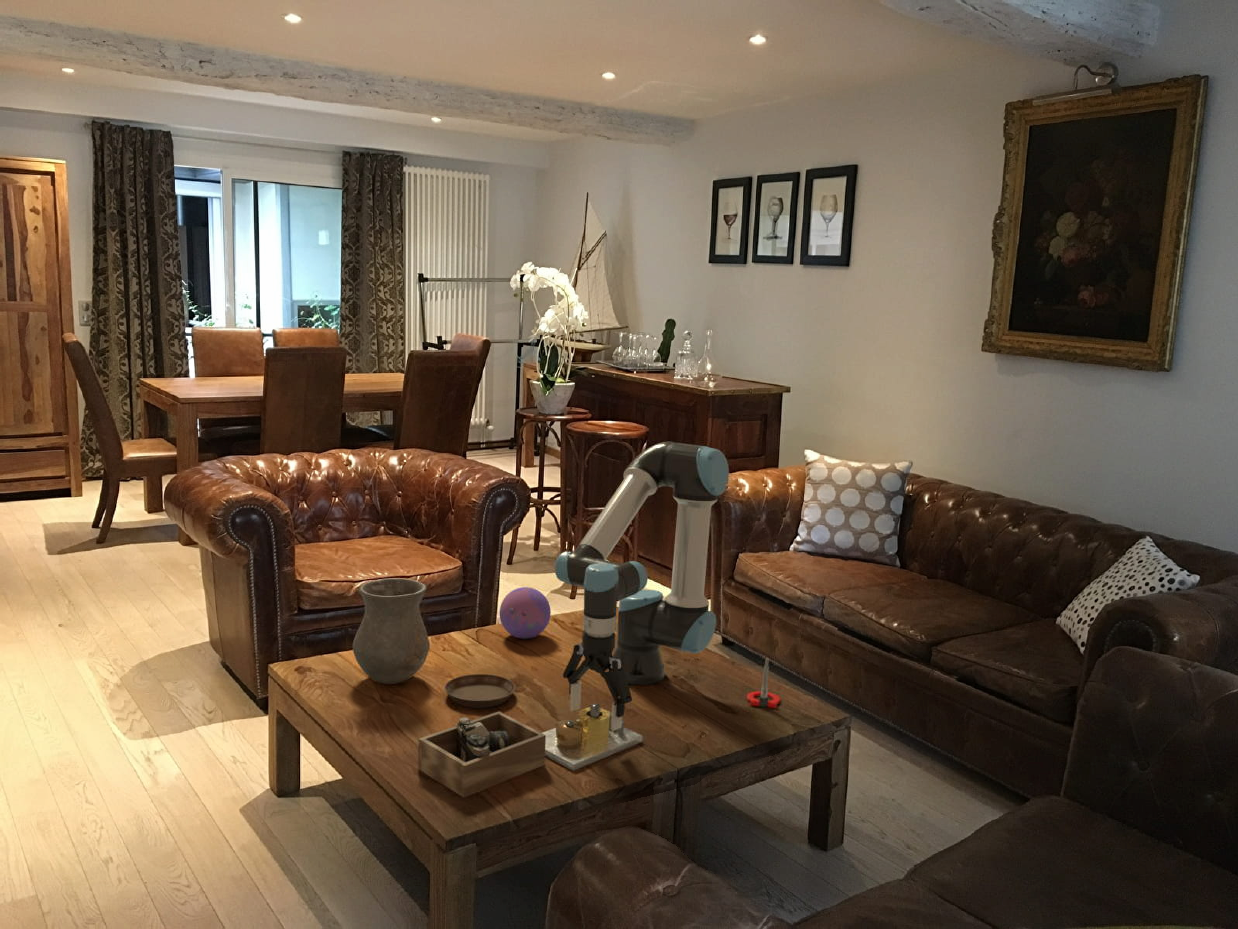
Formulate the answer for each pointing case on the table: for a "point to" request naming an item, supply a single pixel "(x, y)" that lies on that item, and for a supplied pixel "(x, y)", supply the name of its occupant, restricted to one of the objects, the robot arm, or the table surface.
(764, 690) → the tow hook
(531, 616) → the decorative ball
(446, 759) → the camera caddy
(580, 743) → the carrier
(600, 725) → the gear
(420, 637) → the vase
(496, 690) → the plant saucer
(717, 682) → the table surface
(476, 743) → the camera
